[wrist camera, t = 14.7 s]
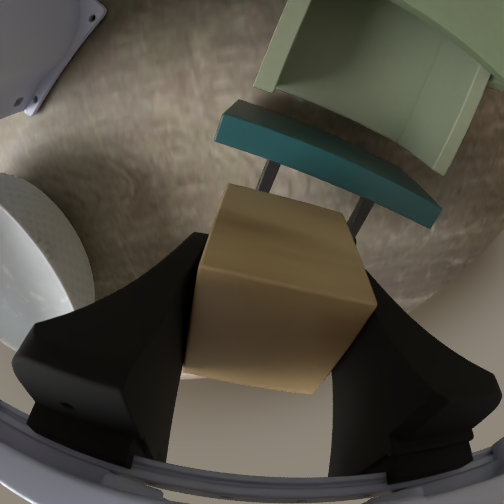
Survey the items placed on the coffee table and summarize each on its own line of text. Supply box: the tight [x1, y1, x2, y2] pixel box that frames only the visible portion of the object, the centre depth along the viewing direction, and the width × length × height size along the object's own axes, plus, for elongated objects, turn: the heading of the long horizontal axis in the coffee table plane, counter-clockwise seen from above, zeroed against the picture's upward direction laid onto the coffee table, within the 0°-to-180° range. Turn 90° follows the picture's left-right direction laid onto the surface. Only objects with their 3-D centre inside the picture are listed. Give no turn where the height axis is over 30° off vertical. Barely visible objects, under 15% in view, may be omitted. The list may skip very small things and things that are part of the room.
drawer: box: [214, 0, 491, 245], centre depth 12 cm, size 17×10×6 cm, turn 161°
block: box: [183, 183, 377, 394], centre depth 10 cm, size 4×4×5 cm
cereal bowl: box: [0, 173, 95, 351], centre depth 20 cm, size 17×17×7 cm
